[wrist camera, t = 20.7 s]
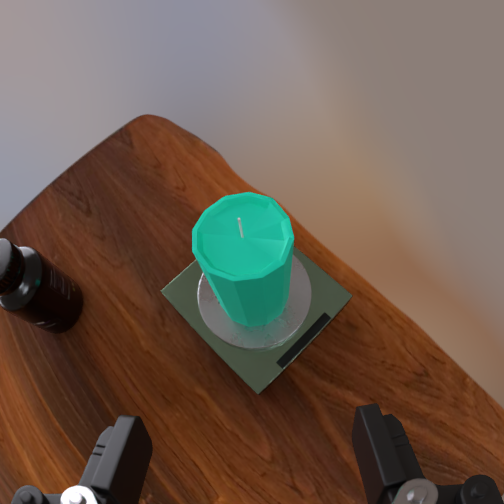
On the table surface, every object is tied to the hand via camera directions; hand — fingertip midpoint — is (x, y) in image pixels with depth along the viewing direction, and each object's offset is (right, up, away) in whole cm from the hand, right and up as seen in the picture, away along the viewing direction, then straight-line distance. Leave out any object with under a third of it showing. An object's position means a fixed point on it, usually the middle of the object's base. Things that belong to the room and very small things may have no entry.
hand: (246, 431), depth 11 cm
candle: (0, +3, +18) cm, 18 cm away
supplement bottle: (-21, 0, +22) cm, 31 cm away
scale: (+1, +2, +20) cm, 21 cm away
